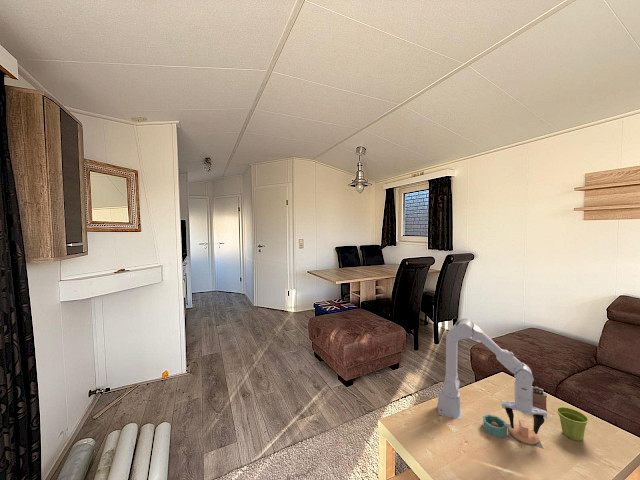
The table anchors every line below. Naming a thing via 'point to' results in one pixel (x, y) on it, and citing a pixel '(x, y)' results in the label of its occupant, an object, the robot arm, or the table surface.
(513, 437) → the mat
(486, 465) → the table surface
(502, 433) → the bowl
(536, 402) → the lighter
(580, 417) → the plant pot
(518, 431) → the lid
